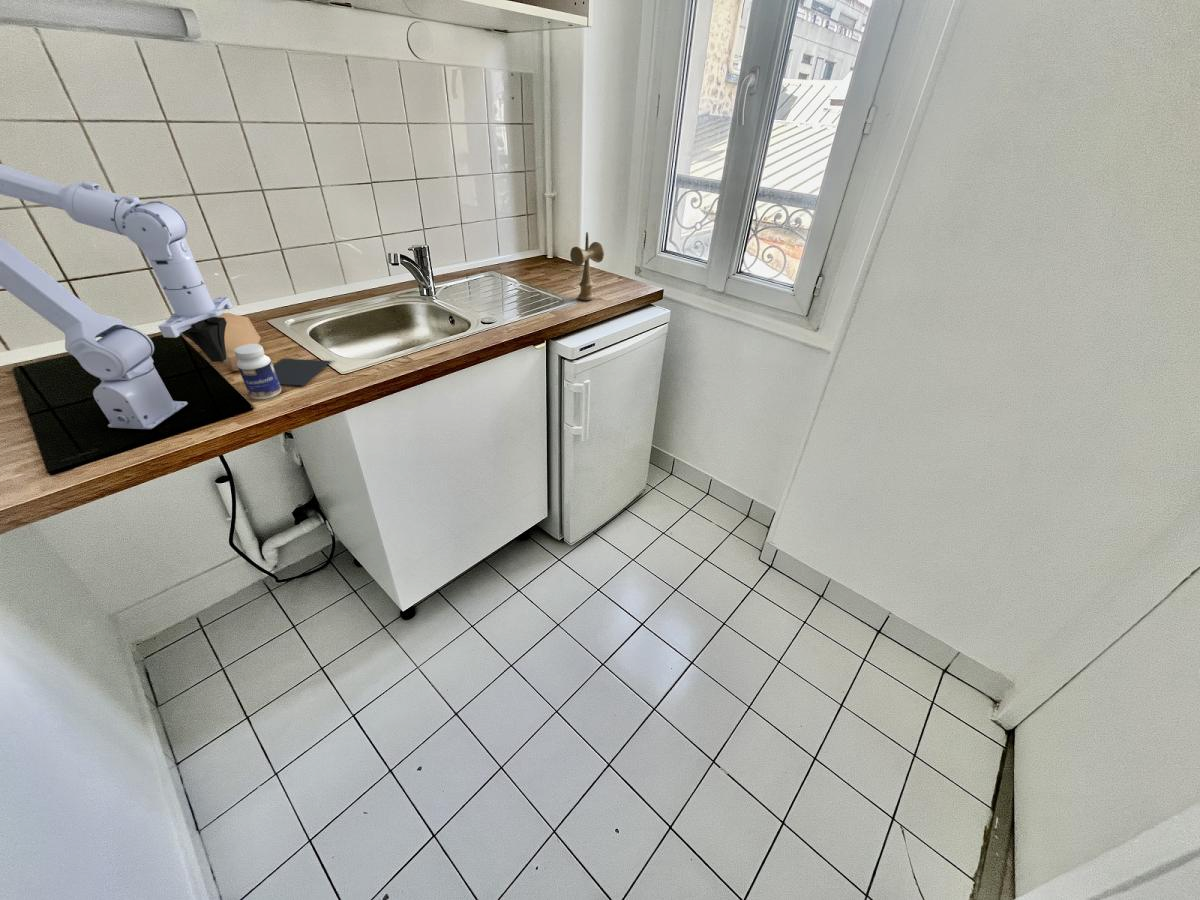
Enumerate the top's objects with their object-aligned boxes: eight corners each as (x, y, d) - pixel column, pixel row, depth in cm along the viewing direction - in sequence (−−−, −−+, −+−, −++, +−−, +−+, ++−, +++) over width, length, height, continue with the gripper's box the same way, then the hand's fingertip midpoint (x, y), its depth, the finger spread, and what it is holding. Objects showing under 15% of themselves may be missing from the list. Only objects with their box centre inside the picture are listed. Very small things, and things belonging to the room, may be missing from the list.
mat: (302, 386, 102) (301, 385, 102) (250, 384, 103) (250, 382, 102) (330, 362, 112) (329, 360, 112) (283, 360, 112) (282, 358, 112)
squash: (256, 338, 122) (251, 304, 117) (274, 377, 111) (269, 341, 106) (202, 341, 116) (193, 305, 111) (216, 382, 105) (207, 344, 100)
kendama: (603, 298, 156) (605, 231, 145) (581, 304, 150) (582, 235, 139) (590, 293, 159) (591, 228, 148) (568, 299, 154) (568, 232, 142)
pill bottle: (252, 403, 96) (231, 356, 91) (248, 391, 100) (229, 346, 94) (284, 395, 99) (267, 350, 94) (280, 384, 103) (262, 340, 97)
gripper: (175, 299, 75) (214, 378, 82) (235, 273, 86) (264, 344, 94) (129, 298, 75) (173, 377, 82) (196, 272, 86) (228, 343, 94)
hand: (219, 360), depth 88 cm, fingers closed
